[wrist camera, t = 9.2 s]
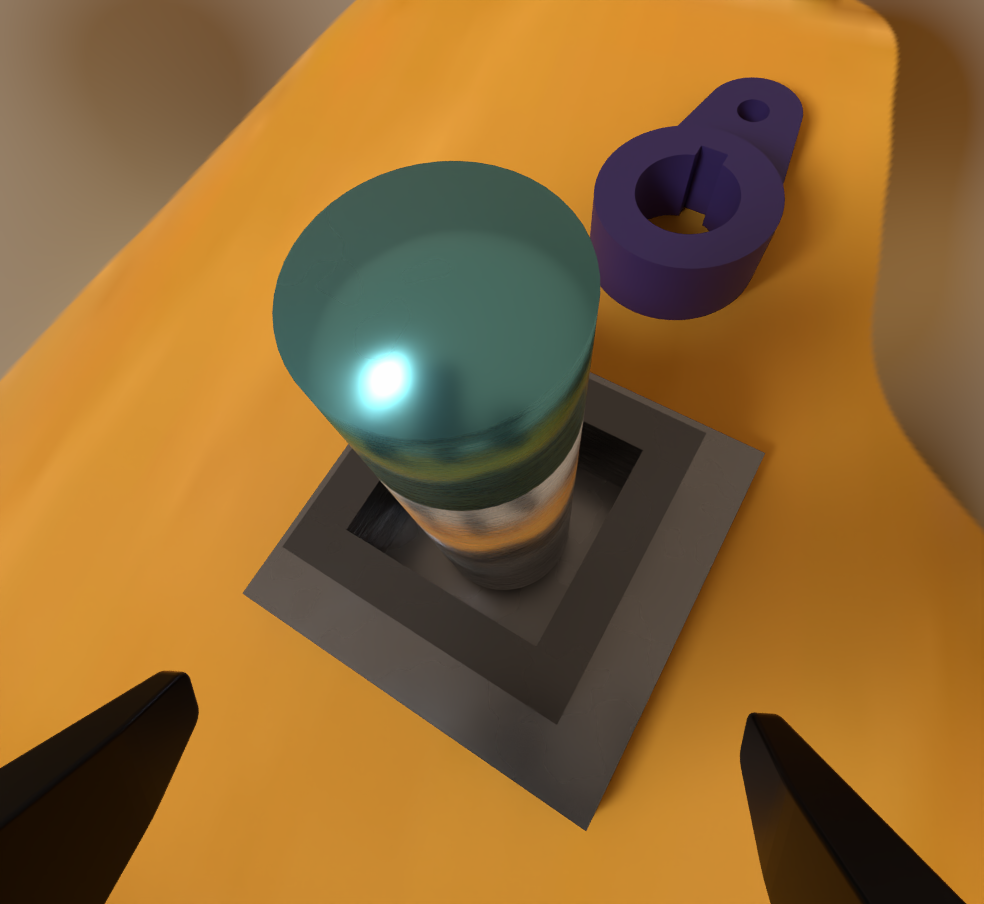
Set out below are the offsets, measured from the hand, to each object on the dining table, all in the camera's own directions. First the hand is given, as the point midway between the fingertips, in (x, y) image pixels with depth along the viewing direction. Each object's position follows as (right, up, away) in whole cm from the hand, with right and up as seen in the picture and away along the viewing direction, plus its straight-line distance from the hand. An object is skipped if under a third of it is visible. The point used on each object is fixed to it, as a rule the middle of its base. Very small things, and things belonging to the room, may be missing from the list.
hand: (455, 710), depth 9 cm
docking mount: (+1, +2, +10) cm, 10 cm away
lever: (+9, +14, +14) cm, 22 cm away
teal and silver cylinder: (+1, +2, +9) cm, 9 cm away
